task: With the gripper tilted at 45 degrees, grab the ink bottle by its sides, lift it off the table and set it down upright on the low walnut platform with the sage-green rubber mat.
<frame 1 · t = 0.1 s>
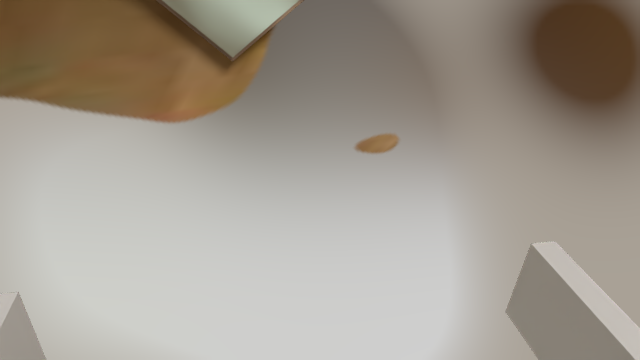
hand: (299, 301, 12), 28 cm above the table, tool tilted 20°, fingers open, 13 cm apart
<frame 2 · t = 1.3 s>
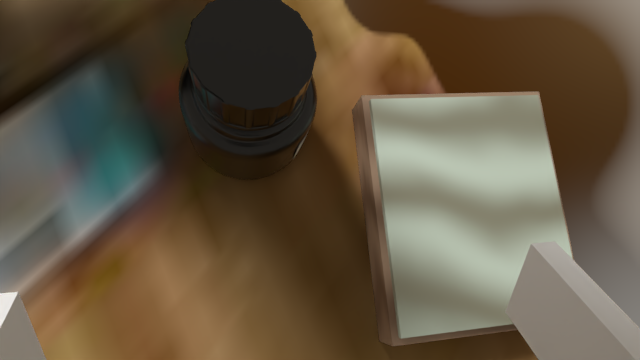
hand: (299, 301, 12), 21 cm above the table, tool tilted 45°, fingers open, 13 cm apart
mat platform: (454, 212, 37), on the table
ink bottle: (247, 126, 36), on the table
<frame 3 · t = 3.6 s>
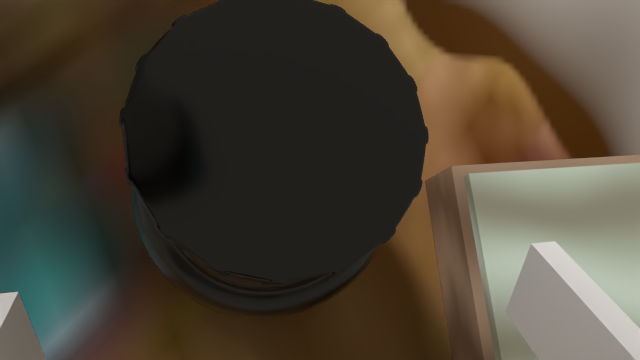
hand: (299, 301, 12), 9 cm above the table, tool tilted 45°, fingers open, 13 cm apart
mat platform: (592, 346, 23), on the table
ink bottle: (259, 213, 22), on the table
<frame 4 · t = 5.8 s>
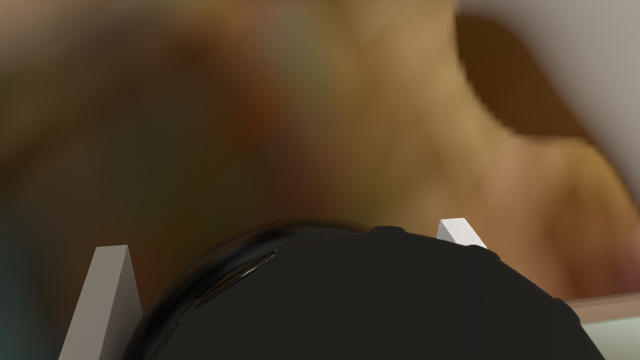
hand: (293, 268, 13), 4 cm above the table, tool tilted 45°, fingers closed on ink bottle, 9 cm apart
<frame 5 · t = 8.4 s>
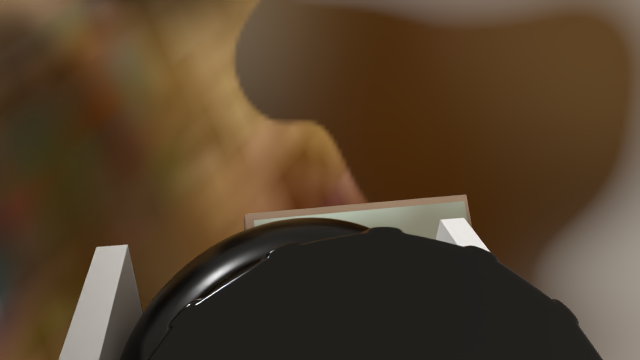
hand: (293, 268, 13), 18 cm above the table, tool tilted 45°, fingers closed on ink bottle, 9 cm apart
mat platform: (366, 341, 31), on the table
when the fingers open (9 cm above the table, at t = 11.2 s): ink bottle drops 1 cm, resting on mat platform.
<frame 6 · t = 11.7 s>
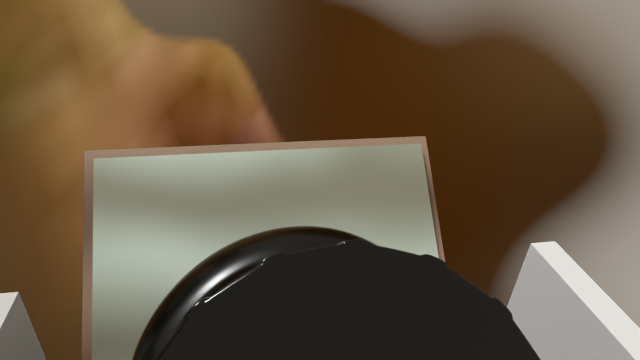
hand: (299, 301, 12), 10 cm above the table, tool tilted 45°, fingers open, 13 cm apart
mat platform: (277, 348, 21), on the table
ink bottle: (282, 359, 18), point 3 cm above the table, touching mat platform
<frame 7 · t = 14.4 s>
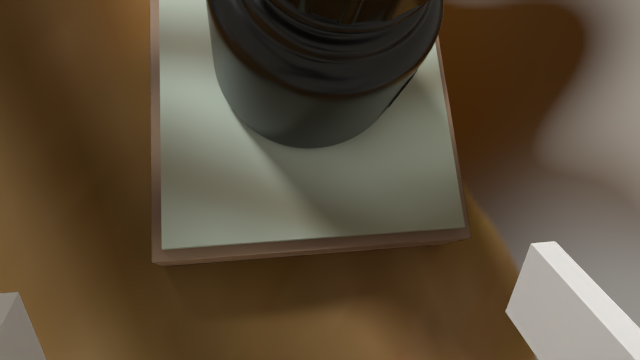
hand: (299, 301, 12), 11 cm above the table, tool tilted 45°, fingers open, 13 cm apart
mat platform: (298, 95, 26), on the table
ink bottle: (305, 68, 23), point 3 cm above the table, touching mat platform
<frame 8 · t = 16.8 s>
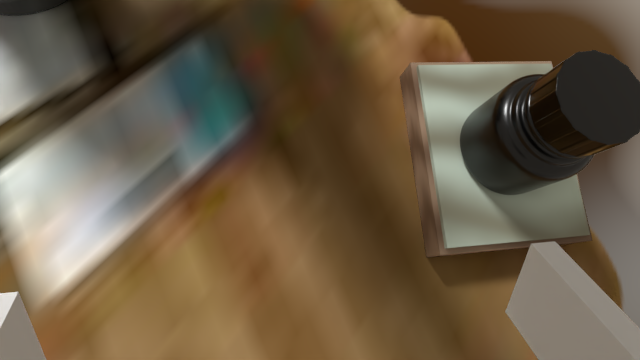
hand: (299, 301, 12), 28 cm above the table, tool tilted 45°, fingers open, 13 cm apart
mat platform: (483, 159, 45), on the table
ink bottle: (501, 149, 42), point 3 cm above the table, touching mat platform
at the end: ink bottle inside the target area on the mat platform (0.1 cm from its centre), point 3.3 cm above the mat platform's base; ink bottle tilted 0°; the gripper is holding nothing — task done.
